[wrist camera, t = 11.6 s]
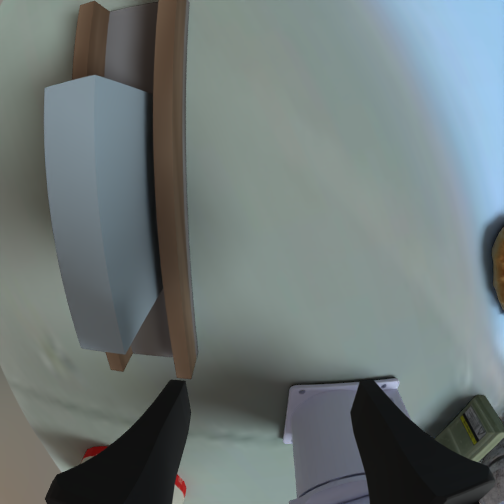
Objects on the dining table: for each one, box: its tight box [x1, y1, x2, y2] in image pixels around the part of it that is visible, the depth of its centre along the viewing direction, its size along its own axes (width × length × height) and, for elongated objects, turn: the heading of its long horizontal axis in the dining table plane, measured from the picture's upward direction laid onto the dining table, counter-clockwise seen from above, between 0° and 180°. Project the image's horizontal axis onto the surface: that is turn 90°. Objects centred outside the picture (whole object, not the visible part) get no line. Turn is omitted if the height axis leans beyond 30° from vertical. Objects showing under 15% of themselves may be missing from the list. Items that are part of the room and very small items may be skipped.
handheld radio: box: [435, 395, 504, 462], centre depth 26 cm, size 7×3×25 cm
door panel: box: [44, 75, 163, 354], centre depth 15 cm, size 2×12×7 cm, turn 179°
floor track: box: [72, 0, 198, 379], centre depth 17 cm, size 6×24×3 cm, turn 0°
